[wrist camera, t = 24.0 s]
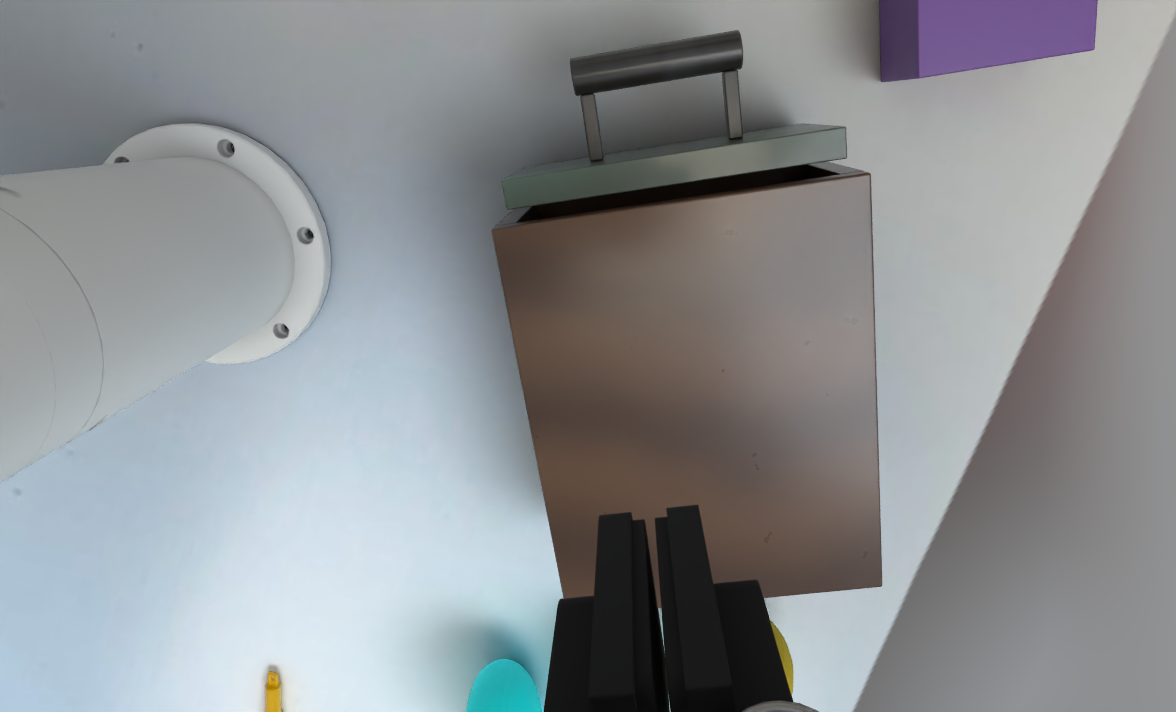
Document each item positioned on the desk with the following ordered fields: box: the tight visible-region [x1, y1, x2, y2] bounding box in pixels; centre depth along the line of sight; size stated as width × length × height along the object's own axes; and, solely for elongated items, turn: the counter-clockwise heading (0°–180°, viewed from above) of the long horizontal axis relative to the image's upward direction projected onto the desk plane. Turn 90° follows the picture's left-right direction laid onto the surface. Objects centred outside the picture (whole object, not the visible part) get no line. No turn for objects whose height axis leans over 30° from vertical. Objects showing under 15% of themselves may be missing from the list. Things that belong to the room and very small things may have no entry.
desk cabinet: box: [492, 162, 882, 608], centre depth 35 cm, size 19×15×9 cm
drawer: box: [501, 30, 847, 210], centre depth 34 cm, size 22×14×7 cm, turn 9°
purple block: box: [879, 0, 1098, 82], centre depth 31 cm, size 7×4×5 cm, turn 99°
